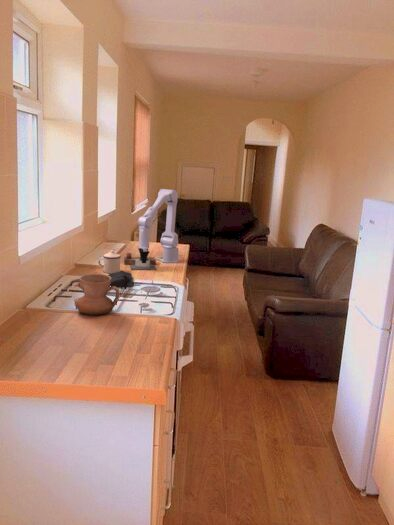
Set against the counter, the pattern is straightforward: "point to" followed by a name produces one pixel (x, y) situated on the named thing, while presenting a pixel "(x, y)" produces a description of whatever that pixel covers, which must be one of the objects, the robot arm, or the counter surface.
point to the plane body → (131, 260)
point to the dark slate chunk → (121, 279)
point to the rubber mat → (152, 267)
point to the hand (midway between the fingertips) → (143, 262)
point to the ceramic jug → (95, 294)
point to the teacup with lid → (111, 262)
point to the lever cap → (142, 265)
